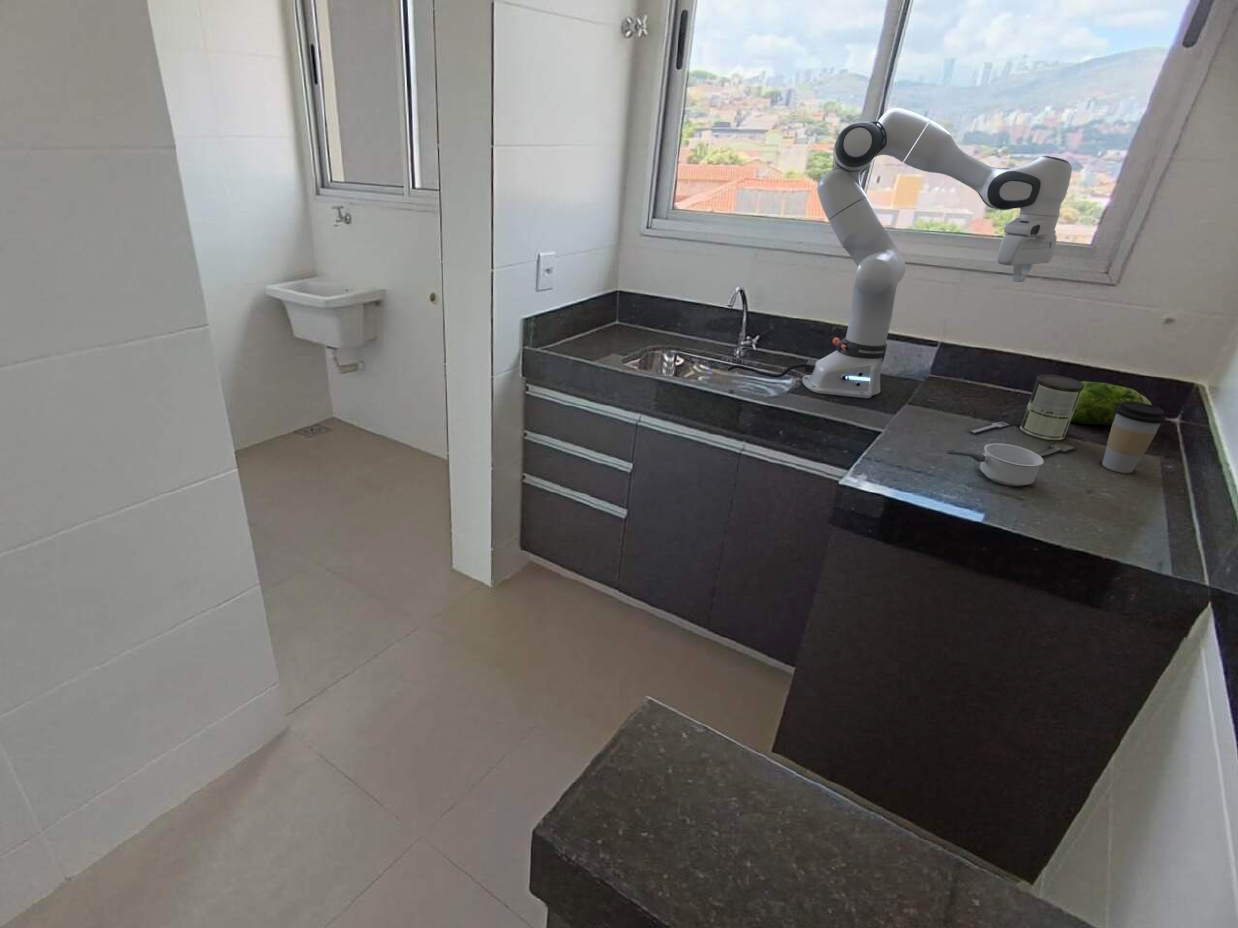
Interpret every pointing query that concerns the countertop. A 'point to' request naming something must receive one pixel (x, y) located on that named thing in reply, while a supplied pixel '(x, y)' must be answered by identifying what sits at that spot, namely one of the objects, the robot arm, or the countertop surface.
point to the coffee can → (1051, 406)
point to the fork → (990, 427)
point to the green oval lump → (1102, 402)
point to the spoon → (1056, 449)
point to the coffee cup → (1131, 434)
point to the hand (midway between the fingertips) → (1018, 281)
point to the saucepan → (1006, 463)
